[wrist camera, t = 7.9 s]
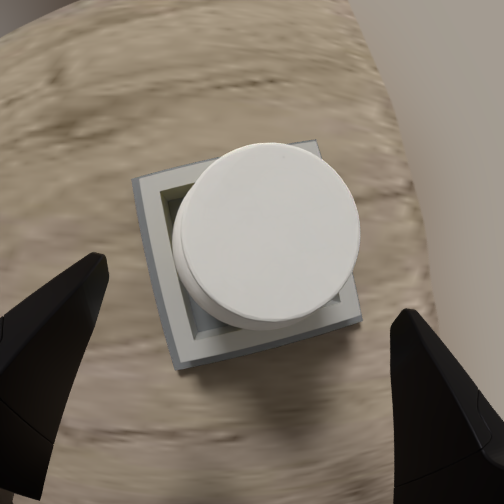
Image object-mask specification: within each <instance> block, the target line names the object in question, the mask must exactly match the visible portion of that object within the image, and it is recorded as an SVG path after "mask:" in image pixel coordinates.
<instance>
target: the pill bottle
mask: <svg viewBox="0 0 504 504" xmlns="http://www.w3.org/2000/svg"><path fill="white" fill-rule="evenodd" d="M359 246H360V222H359V215H358V211H357V208H356V205H355V202H354V199H353V197H352V195H351V193H350V191H349V189H348V187H347V186H346V184H345V183H344V181H343V180H342V179H341V177H340V176H339V175H338V174H337V173H336V171H335V170H334V169H333V168H332V167H330V166H329V165H328V164H327V163H326V162H325V161H323V160H322V159H320V158H319V157H318V156H316V155H314V154H312V153H311V152H309V151H306V150H304V149H301V148H299V147H295V146H291V145H287V144H282V143H258V144H252V145H247V146H244V147H241V148H238V149H235V150H233V151H231V152H229V153H227V154H225V155H223V156H222V157H221V158H219V159H217V160H216V161H215V162H214V163H212V164H211V165H210V166H209V167H208V168H207V169H206V170H205V171H204V172H203V173H202V174H201V176H200V177H199V178H198V179H197V181H196V182H195V184H194V185H193V186H192V188H191V189H190V190H189V191H188V193H187V194H186V196H185V197H184V199H183V201H182V203H181V205H180V207H179V210H178V212H177V216H176V219H175V222H174V228H173V235H172V248H173V257H174V262H175V266H176V269H177V272H178V274H179V277H180V279H181V281H182V283H183V285H184V286H185V288H186V289H187V291H188V293H189V294H190V295H191V297H192V298H193V299H194V301H195V302H196V303H197V304H198V305H199V306H200V307H201V308H202V309H204V310H205V311H206V312H207V313H209V314H210V315H211V316H213V317H215V318H216V319H218V320H220V321H222V322H224V323H227V324H229V325H231V326H234V327H238V328H242V329H247V330H255V331H262V330H274V329H280V328H284V327H287V326H290V325H293V324H295V323H297V322H300V321H301V320H303V319H305V318H307V317H308V316H309V315H311V314H312V313H314V312H315V311H317V310H318V309H320V308H321V307H323V306H324V305H326V304H327V303H328V302H330V301H331V300H332V299H333V298H334V297H335V296H336V295H337V294H338V292H339V291H340V290H341V289H342V288H343V286H344V285H345V283H346V282H347V280H348V278H349V277H350V275H351V273H352V271H353V268H354V266H355V263H356V260H357V256H358V253H359Z"/></svg>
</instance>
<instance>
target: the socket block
mask: <svg viewBox="0 0 504 504" xmlns="http://www.w3.org/2000/svg"><path fill="white" fill-rule="evenodd" d="M287 145H291V146H295V147H299V148H301V149H304V150H306V151H309V152H311V153H312V154H314V155H316V156H318V157H319V158H320V159H322V157H321V154H320V150H319V147H318V144H317V141H316V139H315V140H309V141H302V142H296V143H290V144H287ZM221 157H222V156H221ZM221 157H217V158H212V159H208V160H203V161H199V162H195V163H191V164H186V165H182V166H178V167H174V168H170V169H167V170H163V171H159V172H155V173H151V174H148V175H144V176H140V177H137V178H133V179H131V180H132V186H133V192H134V198H135V204H136V210H137V216H138V221H139V227H140V232H141V237H142V242H143V247H144V252H145V256H146V261H147V266H148V270H149V275H150V279H151V283H152V288H153V292H154V296H155V300H156V304H157V308H158V312H159V316H160V320H161V323H162V327H163V331H164V334H165V338H166V342H167V345H168V349H169V352H170V356H171V359H172V362H173V366H174V369H175V370H180V369H185V368H190V367H195V366H200V365H205V364H209V363H214V362H218V361H223V360H227V359H231V358H235V357H240V356H244V355H248V354H252V353H256V352H260V351H264V350H267V349H271V348H275V347H279V346H282V345H286V344H290V343H293V342H297V341H300V340H304V339H307V338H310V337H314V336H317V335H320V334H324V333H327V332H330V331H333V330H337V329H340V328H343V327H346V326H349V325H352V324H355V323H358V322H361V321H363V319H362V314H361V309H360V304H359V299H358V295H357V290H356V285H355V281H354V276H353V272H352V273H351V275H350V277H349V278H348V280H347V282H346V283H345V285H344V286H343V288H342V289H341V290H340V291H339V292H338V294H337V295H336V296H335V297H334V298H333V299H332V300H331V301H330V302H328V303H327V304H326V305H324V306H323V307H321V308H320V309H318V310H317V311H315V312H314V313H312V314H311V315H309V316H308V317H307V318H305V319H303V320H301V321H300V322H297V323H295V324H293V325H290V326H287V327H284V328H280V329H274V330H262V331H255V330H247V329H242V328H238V327H234V326H231V325H229V324H227V323H224V322H222V321H220V320H218V319H216V318H215V317H213V316H211V315H210V314H209V313H207V312H206V311H205V310H204V309H202V308H201V307H200V306H199V305H198V304H197V303H196V302H195V301H194V299H193V298H192V297H191V295H190V294H189V293H188V291H187V289H186V288H185V286H184V285H183V283H182V281H181V279H180V277H179V274H178V272H177V269H176V266H175V262H174V257H173V248H172V235H173V228H174V222H175V219H176V216H177V212H178V210H179V207H180V205H181V203H182V201H183V199H184V197H185V196H186V194H187V193H188V191H189V190H190V189H191V188H192V186H193V185H194V184H195V182H196V181H197V179H198V178H199V177H200V176H201V174H202V173H203V172H204V171H205V170H206V169H207V168H208V167H209V166H210V165H211V164H212V163H214V162H215V161H216V160H217V159H219V158H221Z"/></svg>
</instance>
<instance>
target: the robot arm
mask: <svg viewBox="0 0 504 504" xmlns="http://www.w3.org/2000/svg"><path fill="white" fill-rule="evenodd" d="M108 281H109V272H108V266H107V259H106V256H105V255H104V254H100V253H96V252H92V253H90V254H88V255H87V256H85V257H84V258H82V259H81V260H79V261H78V262H76V263H75V264H73V265H72V266H71V267H69V268H68V269H66V270H65V271H63V272H62V273H60V274H59V275H58V276H56V277H55V278H53V279H52V280H50V281H49V282H48V283H46V284H45V285H43V286H42V287H41V288H39V289H38V290H37V291H35V292H34V293H32V294H31V295H30V296H28V297H27V298H26V299H24V300H23V301H22V302H20V303H19V304H18V305H16V306H15V307H14V308H12V309H11V310H10V311H9V312H7V313H6V314H5V315H4V317H3V316H2V317H1V318H0V504H13V502H12V500H13V496H14V493H16V494H19V495H22V496H25V497H28V498H32V499H35V500H39V501H40V499H41V495H42V491H43V486H44V482H45V477H46V473H47V469H48V465H49V461H50V457H51V454H52V450H53V446H54V445H53V444H54V442H55V439H56V435H57V432H58V428H59V425H60V422H61V418H62V415H63V412H64V409H65V406H66V403H67V400H68V397H69V394H70V391H71V388H72V385H73V382H74V379H75V377H76V374H77V371H78V368H79V366H80V363H81V360H82V358H83V355H84V352H85V350H86V347H87V345H88V342H89V340H90V337H91V335H92V332H93V330H94V327H95V324H96V321H97V317H98V314H99V310H100V307H101V304H102V301H103V297H104V294H105V291H106V288H107V285H108ZM390 375H391V389H392V403H393V422H394V487H395V488H394V499H393V504H504V422H503V420H502V419H501V418H500V416H499V415H498V414H497V413H496V411H495V410H494V409H493V408H492V406H491V405H490V404H489V402H488V401H487V400H486V398H485V397H484V395H483V394H482V393H481V391H480V390H478V387H477V386H476V385H475V383H474V382H473V381H472V379H471V378H470V377H469V375H468V374H467V373H466V371H465V370H464V369H463V367H462V366H461V365H460V363H459V362H458V361H457V360H456V358H455V357H454V356H453V355H452V353H451V352H450V351H449V349H448V348H447V347H446V346H445V344H444V343H443V342H442V341H441V339H440V338H439V337H438V336H437V334H436V333H435V332H434V331H433V330H432V328H431V327H430V326H429V325H428V324H427V322H426V321H425V320H424V319H423V318H422V316H421V315H420V314H419V313H418V312H417V311H416V310H414V309H407V308H405V309H403V310H402V311H401V313H400V314H399V315H398V317H397V318H396V319H395V321H394V322H393V323H392V325H391V328H390Z"/></svg>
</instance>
